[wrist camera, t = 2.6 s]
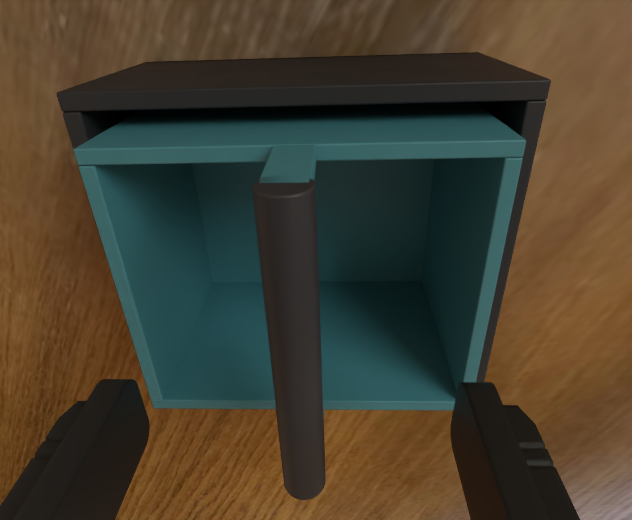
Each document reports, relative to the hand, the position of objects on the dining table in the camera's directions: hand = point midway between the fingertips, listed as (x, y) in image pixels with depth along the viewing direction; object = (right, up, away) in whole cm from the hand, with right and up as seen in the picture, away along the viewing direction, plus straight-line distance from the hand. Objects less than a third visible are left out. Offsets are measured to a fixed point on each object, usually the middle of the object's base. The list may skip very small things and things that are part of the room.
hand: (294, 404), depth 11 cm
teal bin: (0, +7, +12) cm, 13 cm away
